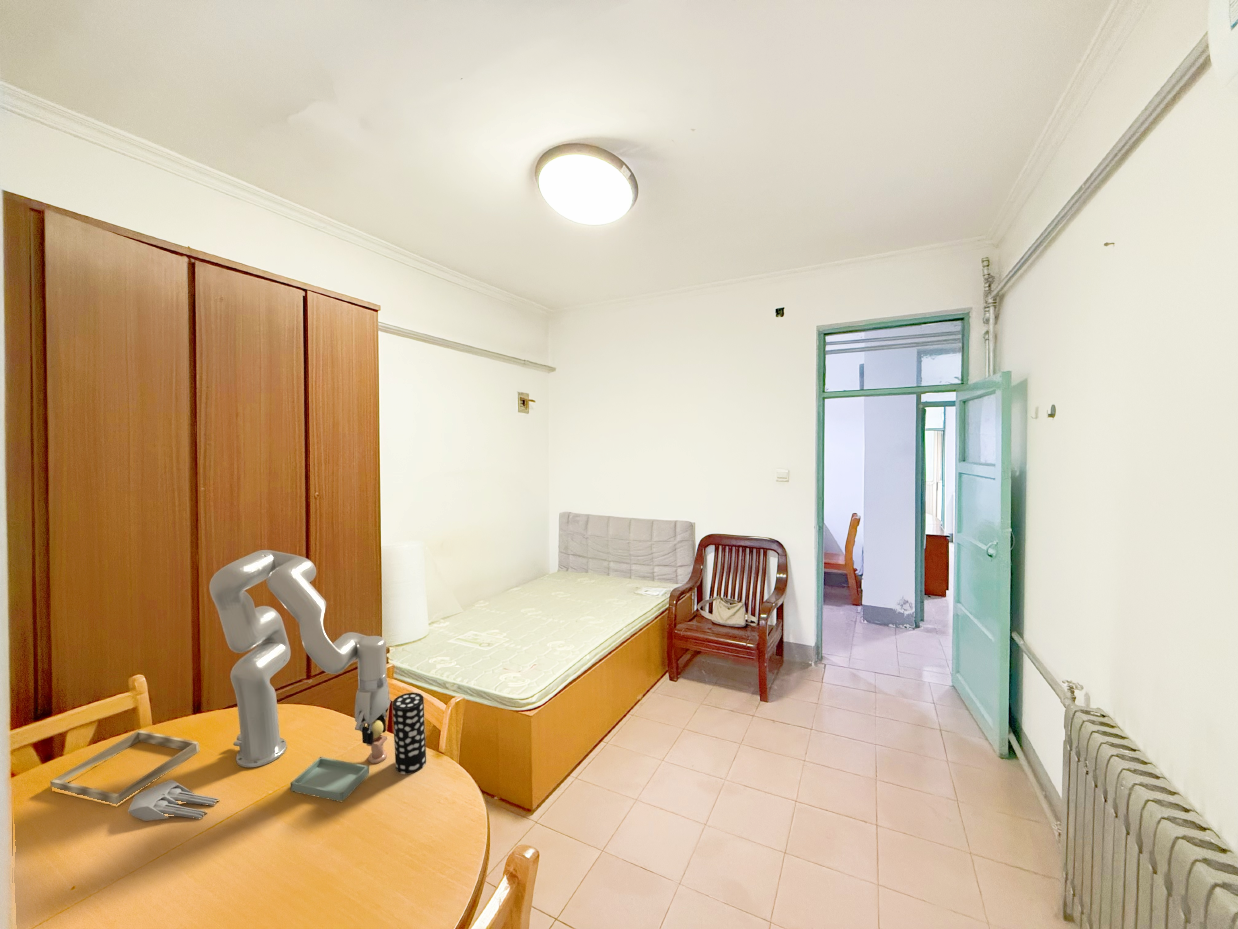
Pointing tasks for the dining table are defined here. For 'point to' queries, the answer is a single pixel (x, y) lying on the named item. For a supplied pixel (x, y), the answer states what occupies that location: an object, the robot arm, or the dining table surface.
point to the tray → (330, 778)
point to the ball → (376, 728)
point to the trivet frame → (143, 736)
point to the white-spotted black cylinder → (409, 733)
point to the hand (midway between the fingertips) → (374, 736)
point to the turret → (167, 802)
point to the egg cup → (377, 750)
